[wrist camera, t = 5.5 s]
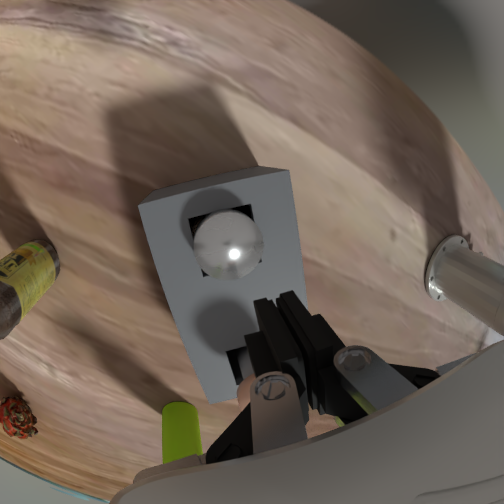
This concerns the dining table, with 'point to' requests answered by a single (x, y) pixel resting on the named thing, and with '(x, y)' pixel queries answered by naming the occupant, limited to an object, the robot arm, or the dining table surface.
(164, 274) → the button box
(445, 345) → the dining table surface
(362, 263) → the dining table surface
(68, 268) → the dining table surface
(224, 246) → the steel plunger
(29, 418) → the dragon fruit
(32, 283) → the sauce bottle
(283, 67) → the dining table surface
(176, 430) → the soap dispenser
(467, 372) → the robot arm
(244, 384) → the terracotta plunger
